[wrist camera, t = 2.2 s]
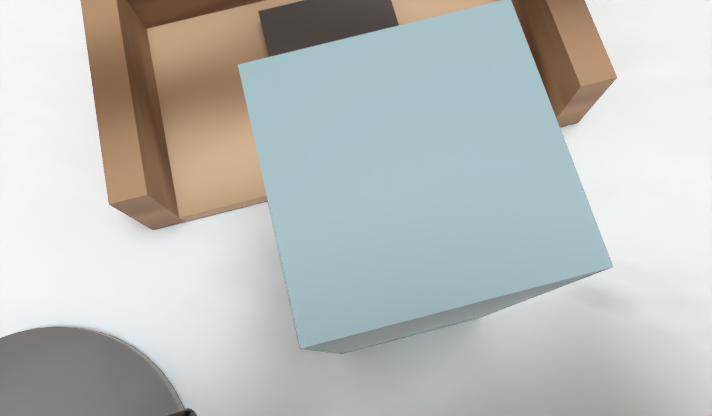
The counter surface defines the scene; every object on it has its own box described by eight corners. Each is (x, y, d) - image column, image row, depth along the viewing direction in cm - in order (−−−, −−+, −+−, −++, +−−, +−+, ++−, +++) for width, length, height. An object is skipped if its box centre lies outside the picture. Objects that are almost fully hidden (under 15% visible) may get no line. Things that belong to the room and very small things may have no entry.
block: (481, 316, 19) (612, 266, 9) (342, 353, 19) (300, 348, 8) (440, 184, 20) (510, -2, 10) (309, 217, 20) (237, 64, 10)
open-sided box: (578, 122, 21) (617, 77, 18) (153, 229, 20) (108, 204, 17) (501, -72, 23) (522, -145, 20) (119, 19, 23) (75, -40, 19)
